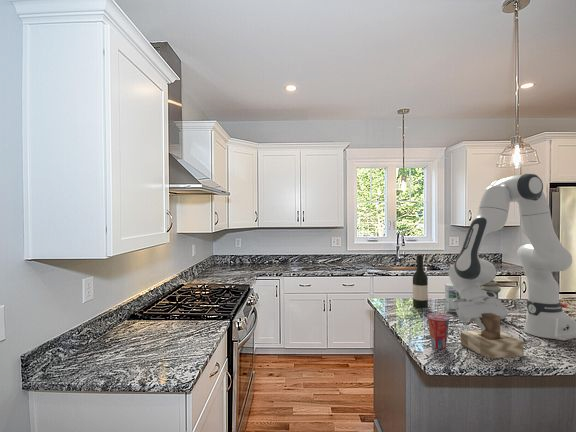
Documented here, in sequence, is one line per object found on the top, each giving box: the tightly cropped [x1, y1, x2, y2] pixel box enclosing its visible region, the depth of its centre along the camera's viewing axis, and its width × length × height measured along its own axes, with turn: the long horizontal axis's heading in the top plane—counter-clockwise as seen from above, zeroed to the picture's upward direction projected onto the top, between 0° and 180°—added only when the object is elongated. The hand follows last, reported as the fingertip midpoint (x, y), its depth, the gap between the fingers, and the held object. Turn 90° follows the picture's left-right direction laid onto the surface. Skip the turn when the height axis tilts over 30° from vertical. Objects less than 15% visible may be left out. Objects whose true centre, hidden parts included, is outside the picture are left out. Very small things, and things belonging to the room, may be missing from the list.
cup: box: [426, 313, 451, 350], centre depth 141 cm, size 9×8×12 cm
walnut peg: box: [480, 313, 501, 340], centre depth 137 cm, size 4×4×12 cm
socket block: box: [460, 329, 525, 360], centre depth 137 cm, size 15×15×5 cm
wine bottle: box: [412, 253, 429, 309], centre depth 204 cm, size 8×8×30 cm
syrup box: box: [444, 283, 459, 313], centre depth 193 cm, size 6×6×14 cm
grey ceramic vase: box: [480, 279, 502, 300], centre depth 184 cm, size 12×12×18 cm
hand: (491, 329), depth 137 cm, fingers closed on walnut peg, 4 cm apart
